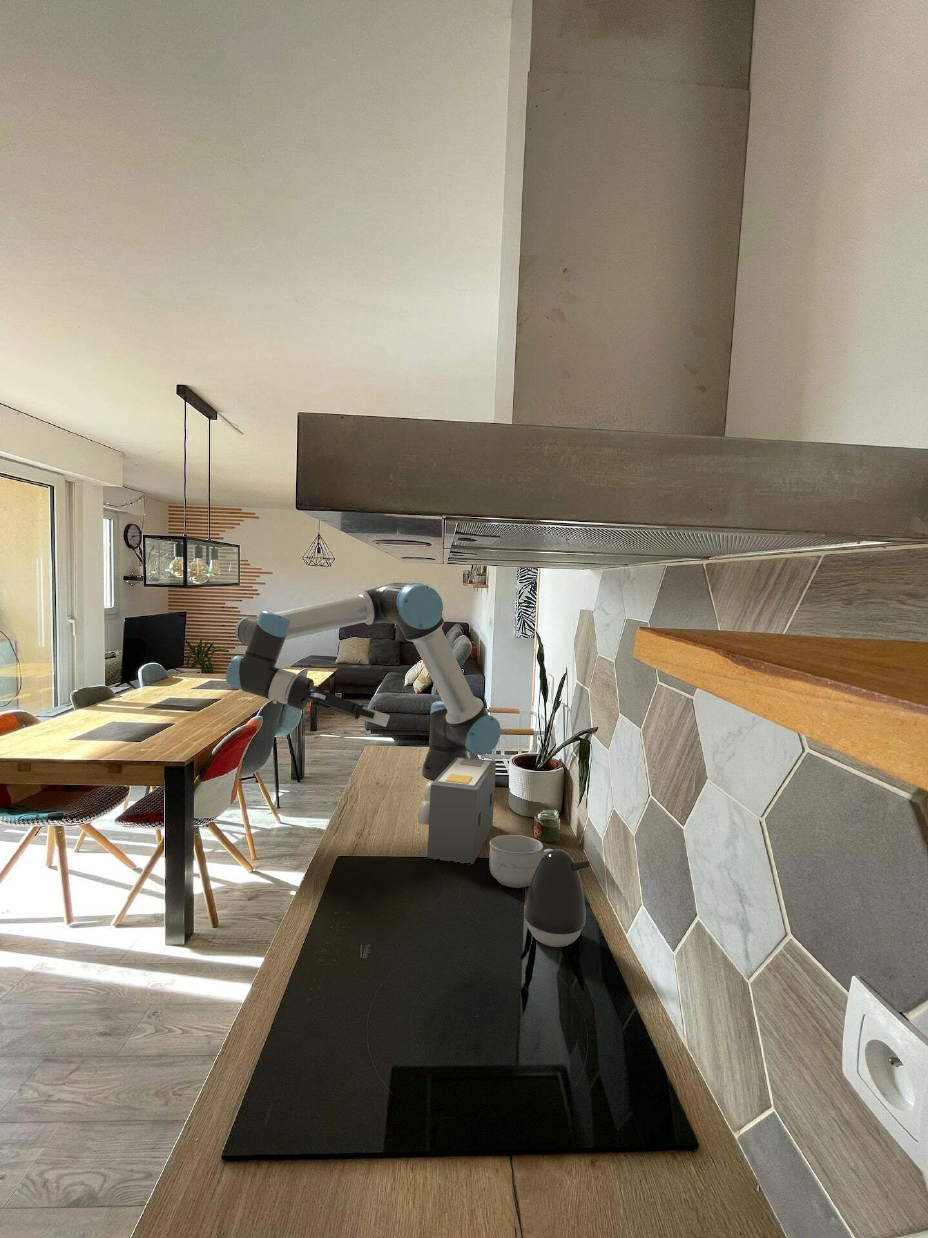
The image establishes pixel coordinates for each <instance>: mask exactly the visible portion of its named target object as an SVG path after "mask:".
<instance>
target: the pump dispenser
mask: <svg viewBox="0 0 928 1238" xmlns="http://www.w3.org/2000/svg"><path fill="white" fill-rule="evenodd" d="M589 867H591V862H590V861H589V860H588V859H587V860H579V861H574V859H573V858H572V856H571V855H570V854H569V852H567V851H566V850H563V849H559V848H558V849H557V848H556V849H553V850H551V851H549V852H547V853H546V854H545V855H544V856H543V858H542V859H541V861H540V862H539V864H538V866H537V868H536V870H535V873H534V875H533V877H532V880H531V883H530V885H529V886H528V891H527V893H526V895H527V896H526V900H525V904H524V918H525V921H526V924H527V928H528V930H529V932H530V933H531V935H532V936H533V938H534V939H535V940H537V941H538V942H539V943H541V944H542V945H545V946H548V947H551V948H552V947H553V948H562V947H567V946H569V945H571V944H573V943H574V942H575V941H576V940H577V939H578V938H579V936H580V935H581V933H582V931H583V928H584V927H585V925H586V917H587V914H586V913H587V912H586V911H587V910H586V900H585V893H584V888H583V883H582V878H581V876H580V872H579V871H581V870H585V869H587V868H589Z"/></svg>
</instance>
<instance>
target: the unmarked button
mask: <svg viewBox="0 0 928 1238" xmlns="http://www.w3.org/2000/svg"><path fill="white" fill-rule="evenodd" d="M433 782H434V781H431V780H428V781H427V782H426V783H425V787H424V793H423V794H424V795H423V798H424V799H423V800H424V801H430V792H431V784H432V783H433Z"/></svg>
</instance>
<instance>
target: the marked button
mask: <svg viewBox="0 0 928 1238" xmlns="http://www.w3.org/2000/svg"><path fill="white" fill-rule="evenodd" d="M429 812H430V801H425V800H424V799H422V800H421V801H420V803H419V807H418V812H417V821H418V824H421V825H426V826H427V825H428V826H429Z"/></svg>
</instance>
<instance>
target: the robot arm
mask: <svg viewBox="0 0 928 1238" xmlns="http://www.w3.org/2000/svg"><path fill="white" fill-rule="evenodd" d="M443 611H444V604H443V600H442V597H441V596H440V594H439V593H438V592H437V590H435V588H434V587H431V586H430V585H426V584H424V583H419V582H412V583H411V582H410V583H406V582H392V583H388V584H384V585H382V586H378V587H374V588H371V589H365V590H361V591H360V592H359V594H358V595H356V596H350V597H345V598H341V599H337V600H336V599H335V600H331V601H327V602H322V603H321V602H320V603H315V604H311V605H307V606H302V607H297V608H292V609H286V610H283V611H277V612H271V611H267V610H261V612H260V613H259V615H257V616H254V615H250V616H246V617H243V618H241V619H240V620H239V621H238V622H237V623H236V625H235V628H234V629H235V630H234V634H235V637H236V638H237V640H238V641H239V642H240V643H241V644H242V645H243V646H246V647H247V648H246V650H245V652H244V655H236V656H234V657H233V658H232V659H231V660H230V663H229V664H228V666H227V669H226V672H225V681H226V683H227V685H229V686H230V687H232V688H233V687H234V688H235V689H238V690H241V691H242V692H246V693H248V694H252V695H255V696H258V697H262V698H263V699H264V698H265V699H267V700H270V701H272V704H274V705H275V704H277V703H281V704H284V705H286V704H287V705H288V706H289V707H292V708H294V709H298V710H299V711H301V710H304V709H305V708H306V707H307V705H308V703H312V704H311V705H312V706H313V707H314V708H317V709H323V710H326V711H330V712H331V711H333V712H336V713H339V714H342V715H346V716H349V717H352V718H354V719H355V720H359V719H361V720H363V721H367V722H369V723H372V724H376V725H379V726H380V727H381V726H382V727H385V728H386V727H387V725H388V723H389V720H390V714H388V713H384V712H380V711H378V710H375V709H371V708H368V707H366V706H365V704H361V705H360V704H359V703H357V702H353V701H350V700H347V699H344V698H342V697H340V696H338V695H337V696H336V695H334V694H333V693H330V692H327V691H325V690H324V689H321V688H317V690H314V686H315V682H314V680H313V678H310V677H306V676H303V675H297V673H294V672H292V671H289V670H285V669H284V668H283V669H282V668H279V667H276V665H277V661H278V659H279V656H280V654H281V652H282V648H283V646H284V644H285V641H286V640H291V639H296V638H299V637H304V636H309V635H314V634H318V633H322V632H327V631H331V630H335V629H340V628H344V627H349V626H353V625H359V624H362V623H364V624H366V625H368V626H370V625H375V624H382V623H383V624H392V625H393V624H394V625H398V627H399V629H400V631H401V632H402V635H403V637H404V638H405V640H406V641H409V642H412V643H413V645H414V646H415V648H416V650H417V652H418V654H419V657H420V658H421V660H422V663H423V665H424V667H425V669H426V671H427V672H428V675H429V676H430V678H431V681H432V682H433V685H434V687H435V688H436V691H437V693H438V694H439V697H440V698H441V700H438V701H437V700H436V701H434V702H433V703H432V704H431V707H430V713H429V715H430V719H429V720H430V721H429V742H428V751H427V753H426V756H425V758H424V761H423V764H422V767H421V768H422V769H421V775H422V776H423V777H425V778H427V779H429V780H432V781H435V780H436V778H437V777H438V776H439V775H440V774H441V773H442V772H443V771H444V770H445V769H446V768H447V767H448V766H449V764H450V763H451V762H452V761H453V760H454V759H455V758H456V757H462V758H469V755H468V753H469V754H472V755H477V756H484V755H487V754H489V753H490V752H492V751H493V750H494V749H495V748H496V747H497V745H498V743H499V740H500V738H501V736H502V735H501V733H502V728H501V725H500V724H501V723H500V721H499V720H498V719H497V718H496V717H495V716H493V715H490V714H488V711H487V709H486V707H485V705H484V702H483V701H482V700H481V699H479V698H475V697H474V694H473V692H472V690H471V688H470V686H469V684H468V682H467V679H466V677H465V675H464V673H463V671H462V669H461V666H460V665H459V662H458V661H457V660H458V659H457V658H456V656H455V654H454V652H453V650H452V648H451V646H450V644H449V641H448V639H447V637H446V635H445V633H444V630H443V629H442V627H443V626H444V624H445V620H444V617H443Z"/></svg>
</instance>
